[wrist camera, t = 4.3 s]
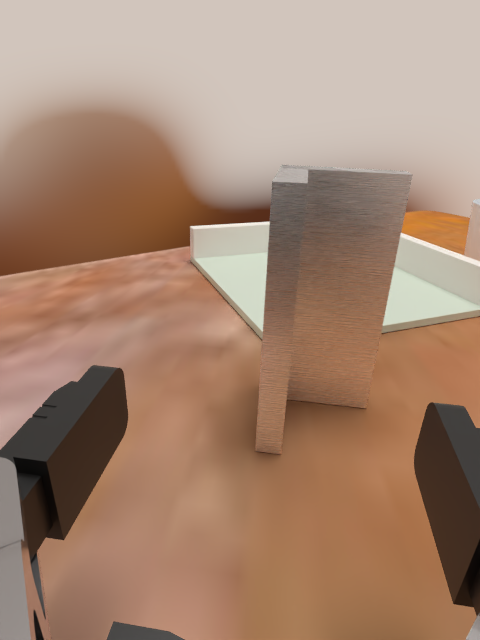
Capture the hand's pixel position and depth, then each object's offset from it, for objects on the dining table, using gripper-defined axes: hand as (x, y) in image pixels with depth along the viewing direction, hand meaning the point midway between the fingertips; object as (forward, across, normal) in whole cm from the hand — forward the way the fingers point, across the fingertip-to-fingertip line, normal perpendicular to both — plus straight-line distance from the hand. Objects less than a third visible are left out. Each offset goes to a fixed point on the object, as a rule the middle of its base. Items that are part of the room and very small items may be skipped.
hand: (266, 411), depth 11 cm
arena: (+29, -3, +7) cm, 30 cm away
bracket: (+9, -2, +7) cm, 11 cm away
